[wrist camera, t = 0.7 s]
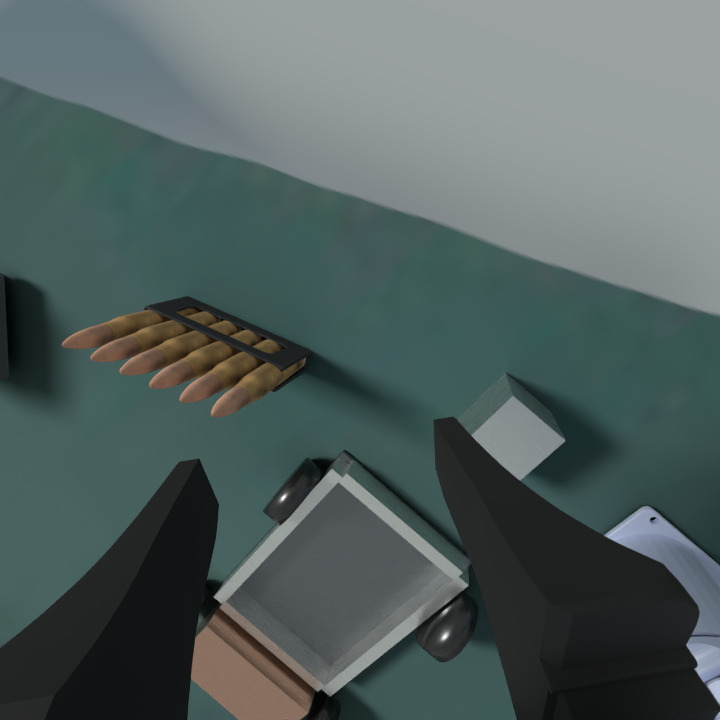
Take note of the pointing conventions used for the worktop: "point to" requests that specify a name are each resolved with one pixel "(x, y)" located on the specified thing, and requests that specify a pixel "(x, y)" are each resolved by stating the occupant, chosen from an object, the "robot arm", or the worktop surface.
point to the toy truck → (3, 334)
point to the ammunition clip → (197, 352)
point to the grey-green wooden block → (512, 426)
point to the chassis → (329, 596)
